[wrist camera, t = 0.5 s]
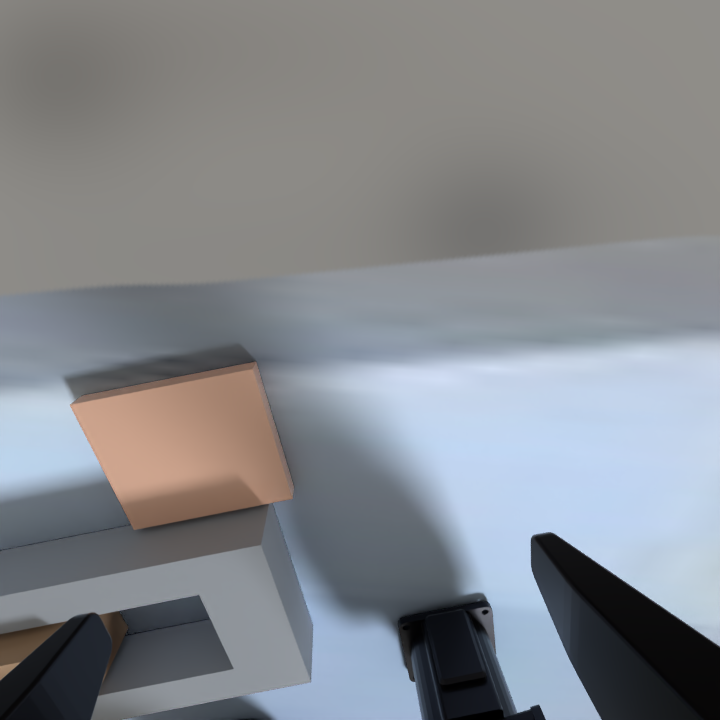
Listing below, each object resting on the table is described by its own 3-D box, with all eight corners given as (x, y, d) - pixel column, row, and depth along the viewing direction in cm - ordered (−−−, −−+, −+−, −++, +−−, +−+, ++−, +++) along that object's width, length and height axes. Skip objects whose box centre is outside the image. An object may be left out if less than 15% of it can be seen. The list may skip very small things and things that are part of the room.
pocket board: (313, 625, 27) (310, 682, 24) (55, 676, 27) (19, 739, 24) (270, 497, 23) (260, 545, 20) (-33, 557, 23) (-92, 614, 20)
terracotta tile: (293, 487, 23) (292, 499, 22) (141, 517, 23) (134, 530, 22) (256, 361, 20) (252, 369, 19) (81, 395, 20) (69, 404, 19)
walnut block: (129, 626, 26) (86, 716, 22) (40, 643, 26) (-22, 737, 22) (97, 572, 25) (43, 657, 20) (1, 591, 25) (-75, 681, 20)
